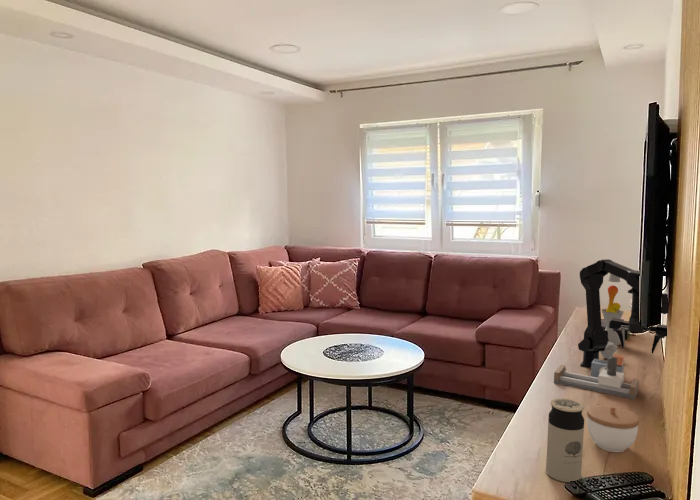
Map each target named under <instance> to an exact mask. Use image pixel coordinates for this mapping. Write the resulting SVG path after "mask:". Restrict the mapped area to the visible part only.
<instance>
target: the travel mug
mask: <svg viewBox="0 0 700 500" xmlns="http://www.w3.org/2000/svg"><path fill="white" fill-rule="evenodd" d="M549 403H550V405H551V409H550V411H549V413H548V419H547V421H548V424H547V441H546V460H545V461H546V463H545V464H546V465H545V472H546V474H547V475H549V477H551V478H553V479H555V480H556V481H558V482H563V483H571V482H570V481H574V480H578V481H580V480H581V478H582V470H583V469H582V467H583V465H582V464H583V449H584V431H585V418H584V416H583V411H584V408H585V406H584V405H583V404H582V403H581V402H579V401H577V400H574V399H571V398H562V397H557V398H553V399H551V400H550V402H549ZM579 479H580V480H579Z"/></svg>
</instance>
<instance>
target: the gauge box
mask: <svg viewBox="0 0 700 500" xmlns="http://www.w3.org/2000/svg"><path fill="white" fill-rule="evenodd" d="M607 361H608V360H605V359H600V358H599V359H594V360H593V361H592V364H591V367H590V376H591V377H596V378H598V375H599V374H600V372H601V371H602V369H604V370H607ZM624 368H625V363H623V365H622V366H620V365H617V371H616V372H620V373H624V370H625V369H624Z"/></svg>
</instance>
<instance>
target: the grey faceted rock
mask: <svg viewBox="0 0 700 500" xmlns="http://www.w3.org/2000/svg"><path fill="white" fill-rule="evenodd" d="M616 351H618V345H614V343H611V342H608V344H607V345H606V348H605V350H604V351H599V353H600V356H602V357H603V358H604V359H607V360H608V357H609V356H612V357H614V355H615V352H616Z"/></svg>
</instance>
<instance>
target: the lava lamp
mask: <svg viewBox="0 0 700 500" xmlns="http://www.w3.org/2000/svg"><path fill="white" fill-rule="evenodd" d="M608 282H612V283H620V282H621V278H619V277H617V276H615V275H613V274H610V273H609V278H608ZM618 293H619V288H618V287H617V286H616V285H610V286H608V288H607V294H608V305H607V308H602V309H601V314H602V316H603V320H604V324H605V329H604V330H605V331H606V330H607V331H608V339H609V341H608V342H611V343H614V345H616V346H619V345H621V341H620V338H619V336H618V334H617V332H616V331H613V329H612V328H609V322H610V321H611V320H612V319H613V318H617V319H622V316H623V315H624V311H623V310H621V304H620V303H619V302H614V300H615V298H616V295H617V294H618Z"/></svg>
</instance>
